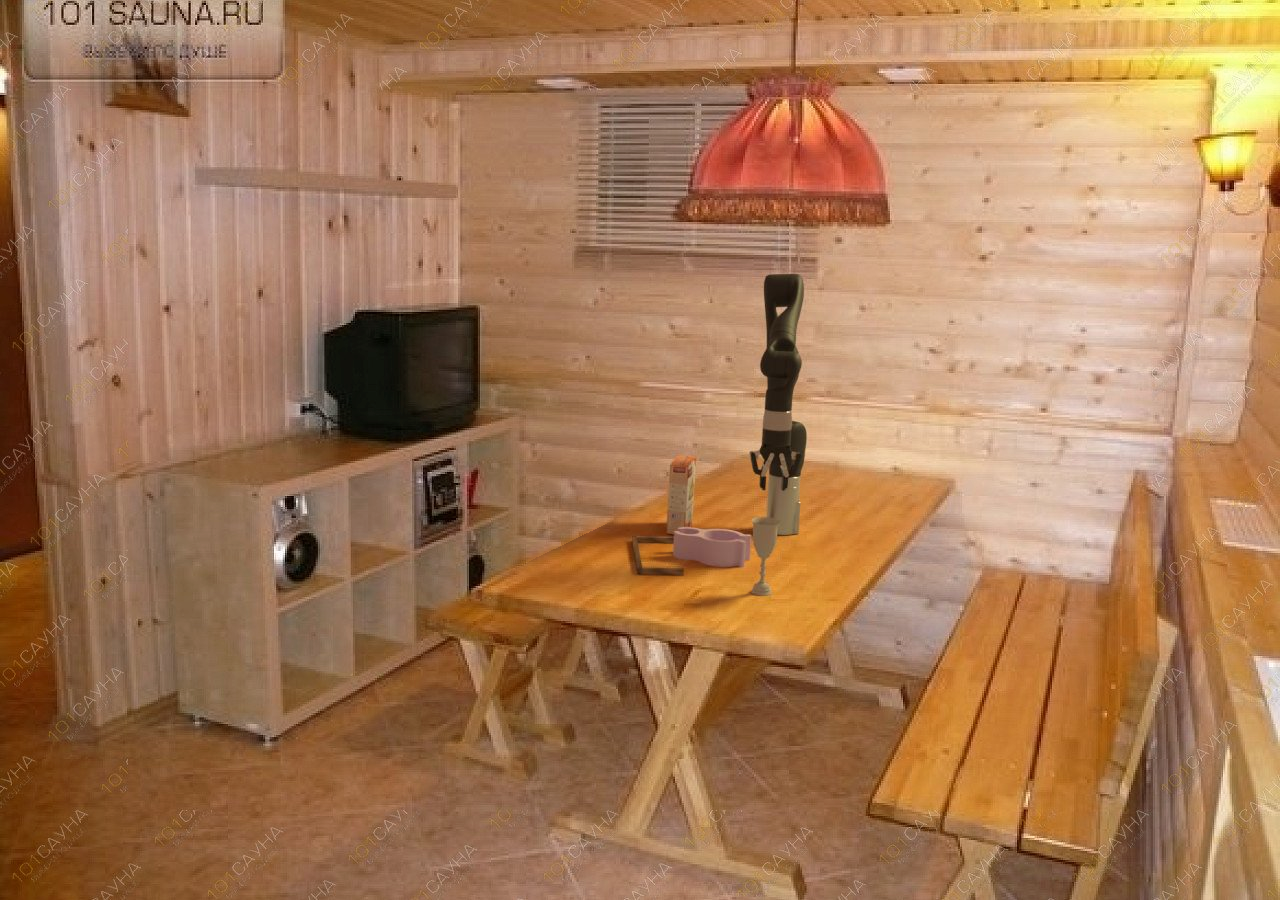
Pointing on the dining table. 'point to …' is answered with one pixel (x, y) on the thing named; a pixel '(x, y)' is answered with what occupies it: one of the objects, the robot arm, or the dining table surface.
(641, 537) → the walnut frame
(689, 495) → the cracker box
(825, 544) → the dining table surface
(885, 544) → the dining table surface
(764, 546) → the chalice
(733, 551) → the clip
